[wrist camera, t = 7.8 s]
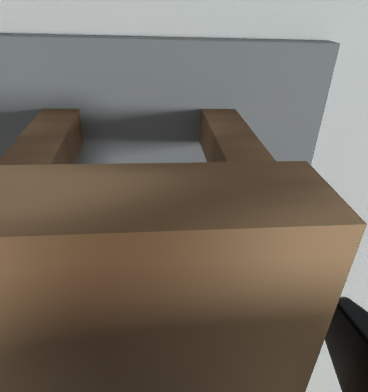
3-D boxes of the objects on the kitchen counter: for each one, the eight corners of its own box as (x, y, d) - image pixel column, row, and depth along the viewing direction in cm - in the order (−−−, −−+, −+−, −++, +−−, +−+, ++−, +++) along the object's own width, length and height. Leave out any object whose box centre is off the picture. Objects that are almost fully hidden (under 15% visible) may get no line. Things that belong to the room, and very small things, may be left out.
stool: (246, 98, 10) (367, 224, 5) (221, 297, 14) (270, 485, 9) (28, 97, 9) (-122, 241, 4) (68, 306, 13) (20, 514, 8)
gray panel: (269, 308, 16) (273, 319, 15) (11, 324, 14) (7, 336, 14) (329, 40, 10) (340, 43, 9) (-85, 31, 9) (-98, 34, 8)
